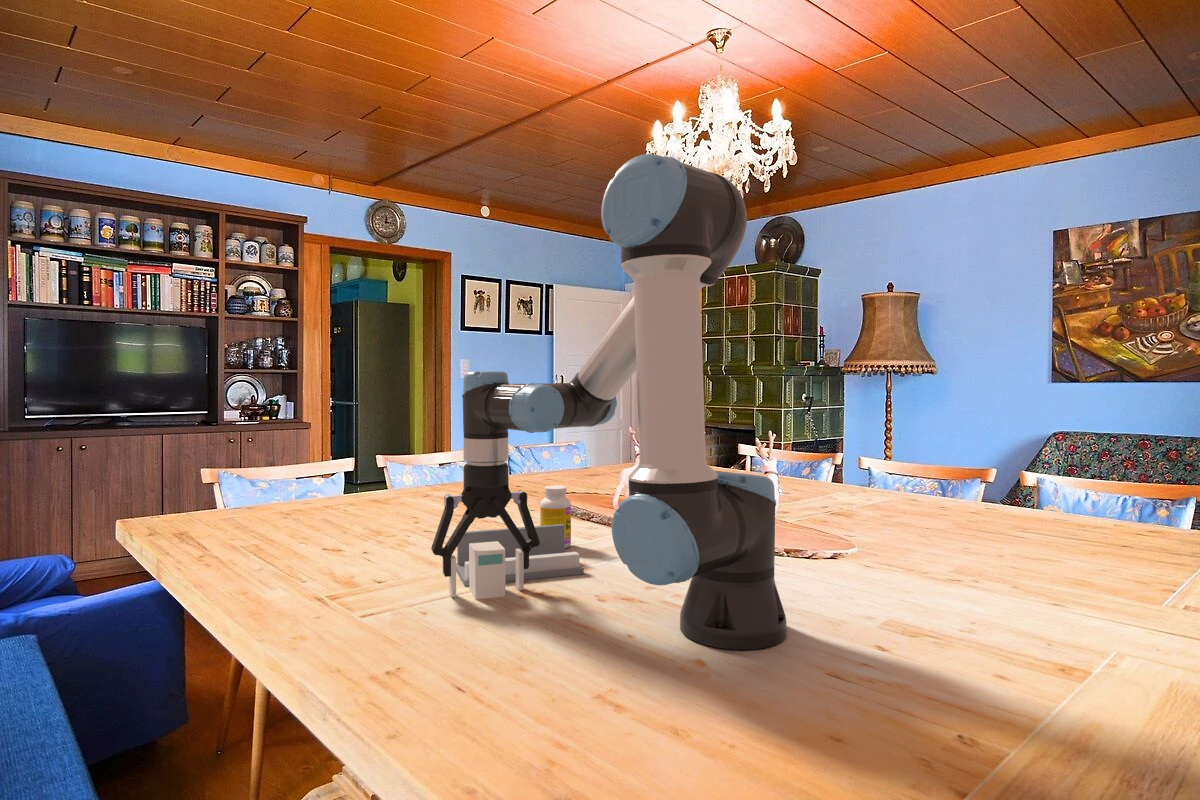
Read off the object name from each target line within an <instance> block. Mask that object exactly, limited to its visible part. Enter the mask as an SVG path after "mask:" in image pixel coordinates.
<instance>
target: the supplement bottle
mask: <svg viewBox="0 0 1200 800" xmlns="http://www.w3.org/2000/svg"><path fill="white" fill-rule="evenodd" d="M544 495H545V497H544V498H542V499H541V500H540V503H539V526H545V525H558V524H563V525H564V536H565V549H568V548H569V547H570V546H571V545H572V544H571V543H572V504H571V500H569V498H567V497H566V495H567V487H566V486H564V485H546V486H545V487H544Z"/></svg>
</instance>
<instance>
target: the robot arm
mask: <svg viewBox="0 0 1200 800" xmlns="http://www.w3.org/2000/svg"><path fill="white" fill-rule="evenodd" d="M600 212H601V214H600V215H601V224H602V228H603V229H604V231H605V234H607V235H608V236H609V239H610V240H611V241H612V242H613V243H614V244H616V245H617V246H619V247H620V259H621V265H620V266H621V269H622V270H623V271H624V273H626V274H627V275H628V276H629V277H630V278H631V280H632V282H633V296H632V298H631V300H630V301H629V302H628V303H627V304H626V306H625V308H623V310H622V312H621V313H620V314H619V316H618V317H617V318H616V320H615V321H614V323H613V324H612V325H611V327H610V328H609V329H608V331H607V332H606V334H605V335H604V336H603V337H602V338H601V339H600V340H601V341H599V342H598V344H597V345H596V347H595V348H594V350H593V351H592V352H591V354H590V355H589V356H588V358H587V359H586V361H585V362H584V364H583V365H582V367H580V369H579V370H578V372H576V374H575V375H574V376H573V378H572V379H571V380H570V381H569V382H558V383H557V382H556V383H553V382H552V383H547V382H546V383H538V382H537V383H533V382H531V383H510V382H509V376H508V373H507V372H505V371H495V370H494V371H490V370H489V371H488V370H486V371H478V370H477V371H474V370H473V371H467V372H466V373H465V374H464V376H463V388H462V394H461V397H462V428H463V429H462V430H463V461H465V462H466V463H465V464H464V465H463V489H462V491H461V494H455V495H451V494H450V493H449V494H448V493H447V494H445V495H444V499H443V501H444V509H443V512H442V515H441V518H440V521H439V524H438V527H437V530H436V533H435V536H434V539H433V542H432V545H431V548H430V549H431V551H432V553H433V555H435V556H439V557H442V573H443V575H444V577H446V578H447V577H448V578H449V579H448V584H449V586H448V588H449V589H448V590H449V591H448V592H449V595H450V597H451V598H457V572H456V563H457V556H455V554H454V553H455V550H457V546H458V544H459V542H460V541H461V539H462V537H463V536H464V534H465V533H466V531H468V529H469V527H470V526H471V524H473V522H474V521H475V519H476V518H477V519H478V520H479V519H485V518H492V519H493V518H497V517H498V516H499V517H500V519H501V520H502V522H503V524H505V526H506V527H507V528H508V529H509V531H510V532H511V534H512V535H513V537H514V538H515V540H516V541H517V543H518V544H519V546H520V549H516V581H515V587H516V588H517V590H519V591H524V585H525V583H524V581H525V580H524V569H528V568H529V552H530V550H531V548H533V547H537V546H539V545H540V541H539V538H538V535H537V532H536V530H535V527H534V526H535V525H534V524H535V523H534V521H533V517H532V515H531V512H530V510H529V507H528V493H527V492H525V491H524V490H522V489H520V490H518V491H511V490H510V487H509V486H510V485H509V482H510V481H509V464H508V463H507V462H506V461H508V460H509V430H510V431H511V430H512V431H519V432H520V431H522V432H526V433H531V434H533V433H547V432H550V431H553V430H555V429H566V428H581V427H583V428H584V427H585V428H587V427H589V428H590V427H595V426H598V425H603V424H606V423H608V422H609V421H610V420H612V418H613V417H614V416H615V413H616V408H617V407H618V406H617V405H618V400H617V395H618V394H619V393H620V391H621V390H622V389H623V387H624V386H625V384H627V382H629V380H630V379H631V377H632V376H633V375H634V373H636V391H637V392H636V395H637V398H636V399H637V424H638V426H637V427H638V452H639V453H638V455H639V456H638V458H639V459H638V460H639V463H638V465H637V466H636V467H635V468H634V470H632V472H631V473H630V474H628V477H627V478H628V497H627V498H625V499H623V500H622V501H621V502H620V503H619V504H618V508H617V509H616V510H615V511H614V512H613V516H612V520H611V536H612V542H613V545H614V548H615V551H616V553H617V555H618V557H619V559H620V561H621V562H622V564H624V565H626V566H627V569H628V571H629V572H630V573H631V574H632V575H633V576H635V577H636V578H638V579H639V580H641V582H645V583H647V584H649V585H653V586H666V585H672V584H681V583H684V582H688V581H690V583H689V586H688V588H687V592H686V595H685V598H684V601H683V604H682V607H681V609H680V615H679V617H680V618H679V623H680V625H679V630H680V632H681V633H682V634H683V636H685V637H686V638H687V639H690V640H691V641H693V642H695V643H699V644H702V645H705V646H709V647H714V648H719V649H724V650H736V651H737V650H739V651H740V650H744V651H746V650H749V651H750V650H760V649H764V648H770V647H773V646H776V645H779V644H780V643H782V642H783V641H784V640H785V639H786V638H787V633H788V632H787V628H788V627H787V615H786V613H785V610H784V607H783V603H782V600H781V597H780V594H779V591H778V588H777V584H776V580H775V560H776V559H775V556H776V555H775V552H776V551H775V549H776V548H775V547H776V545H775V544H776V542H775V541H776V507H777V500H776V493H775V484H774V482H773V480H772V479H771V478H769V477H768V476H764V475H758V474H751V473H742V472H733V471H732V472H731V471H718V470H714V468H712V467H711V466H710V465H709V464H708V463H707V455H706V431H705V430H706V428H705V427H706V425H705V424H706V423H705V398H704V397H705V396H704V395H705V393H704V366H703V365H704V364H703V362H704V361H703V337H702V336H703V335H702V332H703V331H702V327H703V326H702V306H701V305H702V302H701V300H702V299H701V290H702V289H703V288H705V287H712V286H714V285H715V284H716V282H717V281H718V280H719V279H720V277H721V276H722V275H723V274H724V273H725V271H726V270H727V269H728V268H729V266H730V265H731V263H732V261H733V259H735V256H736V255H737V253H738V252H739V249H740V247H741V245H742V243H743V240H744V236H745V234H746V229H747V223H748V222H747V221H748V215H747V213H748V212H747V208H746V203H745V200H744V197H743V196H742V193H741V192H740V191H739V189H738V188H737V187H736V185H735V184H734V183H732V181H731V180H729V179H728V178H727V177H725V176H723V175H720V174H718V173H715V172H711V171H707V170H705V169H702V168H699V167H696V166H693V165H690V164H687V163H684V162H682V161H680V160H679V159H676V158H675V157H672V156H663V155H659V154H655V153H653V154H652V153H646V154H641V155H637V156H635V157H633V158H630V159H629V160H628V161H626V162H624V163H623V165H621V167H620V168H618V170H617V171H616V172H615V175H614V177H613V178H612V179H610V181H609V182H608V184H607V187H606V189H605V191H604V193H603V198H602V202H601V210H600ZM511 500H512V501H513V502H514V504H515V505H517V509H518V511H519V513H520V517H521V520H522V523H523V527H525V529H526V532H527V535H528V537H529V540H525V539H524V537H523V536H522V534H521V533H520V531H519V530H518V528H519V527H517V525H516V523H515V522H514V521H513V519H512V518H511V516H510V514H509V513H508V511H507V510H506V507H507V506H508V504H509V502H510V501H511ZM460 503H463V504H464V506H465V507H466V509H465V511H464V513H463V514H462V518H460V519H461V520H460V521H459V522H458V524H457V526H456V527H455V528H454V531H453V532H452V534H451V535H450V537H449V538H448V540H447V542H446V543H445V545H444V542H445V540H446V536H447V533H448V531H449V527H450V524H451V521H452V518H453V515H454V510H455V509H457V508H458V506H459V504H460ZM443 545H444V546H443Z"/></svg>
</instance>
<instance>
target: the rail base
mask: <svg viewBox="0 0 1200 800" xmlns="http://www.w3.org/2000/svg"><path fill="white" fill-rule="evenodd" d="M534 527H535V530H536V532H537V535H538V538H539V541H540V545H539V546H537V547H533V548H531V550H530V552H529V568H528V569H524V581H528V580H536V579H538V580H539V579H546V578H548V579H549V578H557V577H558V578H559V577H568V576H577V575H578V576H579V575H584V574H585V573H584V572H585V571H584V567H582V566H581V565H580V554H579V553H578V552H577V551H570V552H569V551H568V552H565V549H566V548H565V536H564V525H563V524H558V525H545V526H540V525H537V526H536V525H534ZM517 528H518V530H519V531H520V533H521V534H522V536H523V537H524V539H525V540H529V537H528V535H527V532H526V529H525V526H523V527H521V526H520V527H517ZM495 541H498V542H499V543H500V544H501V545H502V546H503V547H504V549H505V583H507V582H516V549H520V546H519V544H518V543H517V541H516V540H515V538H514V537H513V535H512V534H511V532H510V531H509V529H508V528H495V529H494V528H493V529H482V530H480V529H479V530H470V531H469V530H467V531H466V533H465V534H464V536H463V537H462V539H461V541H460V542H459V544H458V546H457V547H456V551H457V553H456V555H457V556H456V575H458V577H459V578H460V581H461V582H462V584H463V586H464V587H469V544H470V543H482V542H495Z"/></svg>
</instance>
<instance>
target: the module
mask: <svg viewBox="0 0 1200 800" xmlns="http://www.w3.org/2000/svg"><path fill="white" fill-rule="evenodd" d="M468 587H469V588H468V589H469V591H470V593H471V595H472V596H473V598H474V599H475V600H484V599H496V598H505V597H506V582H505V549H504V547H503V546H502V545H501V544H500V543H499V542H498V541H495V542H482V543H470V544H469V586H468Z"/></svg>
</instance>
